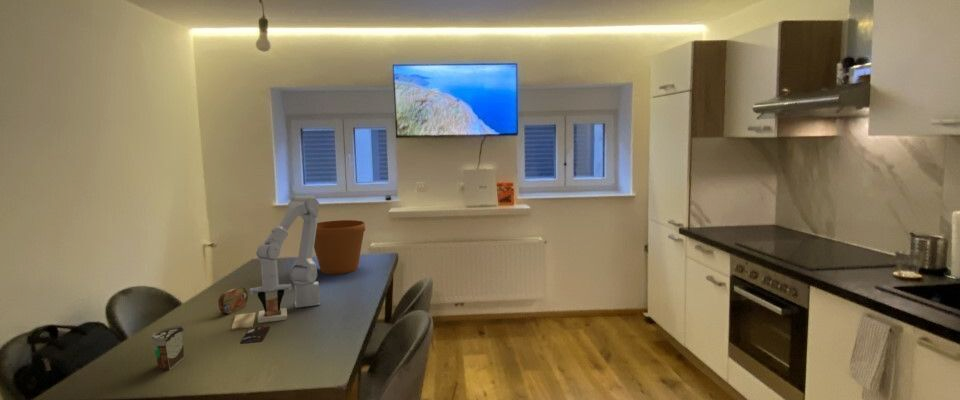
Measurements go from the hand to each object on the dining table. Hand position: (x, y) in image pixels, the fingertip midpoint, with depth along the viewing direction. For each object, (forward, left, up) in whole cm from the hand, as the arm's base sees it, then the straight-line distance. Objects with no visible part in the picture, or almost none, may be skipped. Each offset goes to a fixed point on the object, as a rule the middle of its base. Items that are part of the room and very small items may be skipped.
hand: (272, 310), depth 203 cm
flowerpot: (-30, -68, -3) cm, 74 cm away
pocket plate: (0, 0, -3) cm, 3 cm away
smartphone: (+5, +18, -3) cm, 19 cm away
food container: (+29, +34, -3) cm, 45 cm away
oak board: (+10, +1, -3) cm, 10 cm away
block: (0, 0, -3) cm, 3 cm away
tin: (+15, -16, -3) cm, 22 cm away
